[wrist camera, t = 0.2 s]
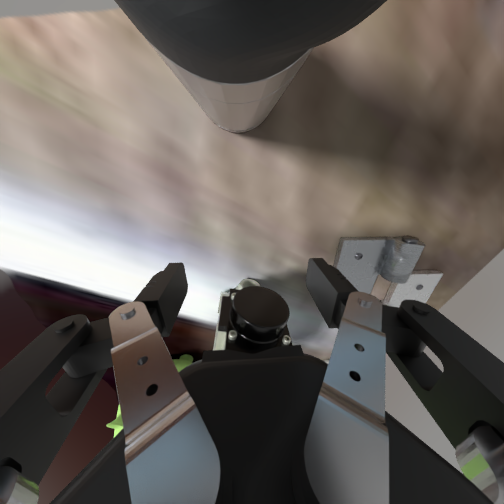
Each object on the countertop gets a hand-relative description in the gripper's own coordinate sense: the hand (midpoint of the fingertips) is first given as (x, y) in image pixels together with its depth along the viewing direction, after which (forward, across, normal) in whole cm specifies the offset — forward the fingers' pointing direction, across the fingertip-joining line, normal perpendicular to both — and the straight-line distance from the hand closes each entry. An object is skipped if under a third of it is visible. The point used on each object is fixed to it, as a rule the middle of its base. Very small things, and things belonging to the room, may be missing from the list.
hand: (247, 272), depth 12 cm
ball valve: (+18, +1, +16) cm, 25 cm away
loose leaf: (+18, -30, +19) cm, 40 cm away
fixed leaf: (+18, -22, +12) cm, 31 cm away
